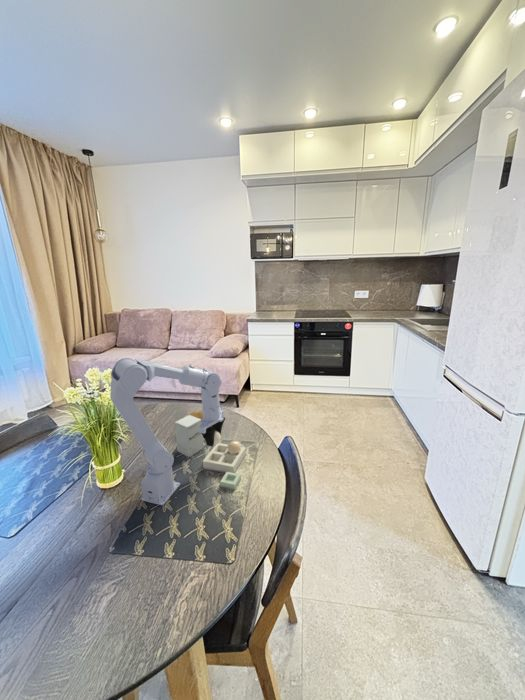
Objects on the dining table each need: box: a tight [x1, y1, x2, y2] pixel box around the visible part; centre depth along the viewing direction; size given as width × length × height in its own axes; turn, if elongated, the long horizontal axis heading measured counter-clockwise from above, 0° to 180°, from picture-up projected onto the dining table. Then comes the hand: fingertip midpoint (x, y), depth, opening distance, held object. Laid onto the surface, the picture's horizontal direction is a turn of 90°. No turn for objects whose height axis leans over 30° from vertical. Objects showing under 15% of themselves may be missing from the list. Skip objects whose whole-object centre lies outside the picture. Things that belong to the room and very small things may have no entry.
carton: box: [202, 442, 247, 473], centre depth 107 cm, size 12×12×3 cm
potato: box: [188, 410, 212, 427], centre depth 129 cm, size 10×14×8 cm
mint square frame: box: [219, 472, 242, 491], centre depth 96 cm, size 5×5×2 cm
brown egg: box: [227, 440, 242, 455], centre depth 108 cm, size 5×5×5 cm
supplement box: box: [173, 414, 205, 458], centre depth 114 cm, size 7×7×13 cm
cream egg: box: [213, 431, 222, 446], centre depth 103 cm, size 5×5×5 cm
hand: (213, 441), depth 104 cm, fingers closed on cream egg, 5 cm apart
